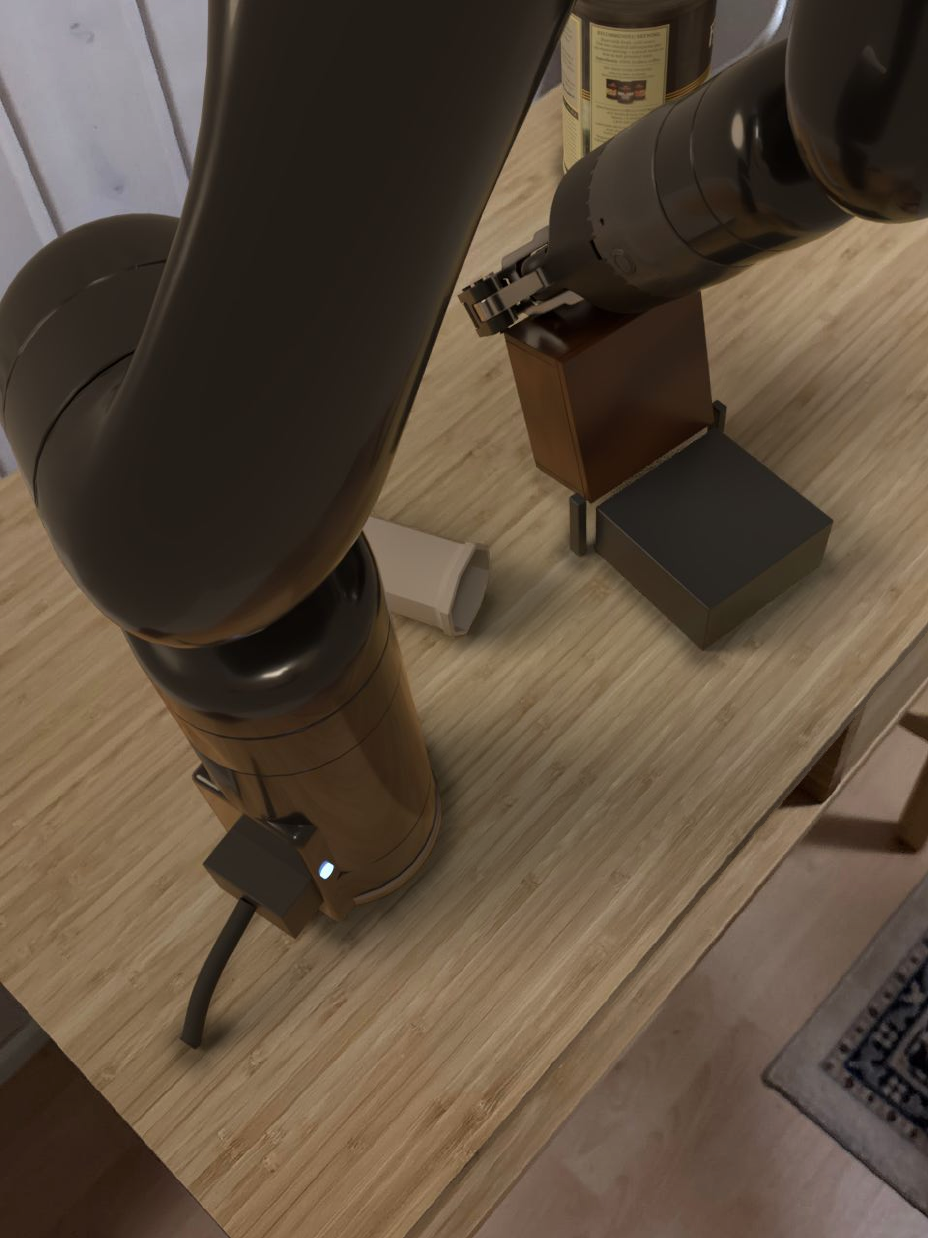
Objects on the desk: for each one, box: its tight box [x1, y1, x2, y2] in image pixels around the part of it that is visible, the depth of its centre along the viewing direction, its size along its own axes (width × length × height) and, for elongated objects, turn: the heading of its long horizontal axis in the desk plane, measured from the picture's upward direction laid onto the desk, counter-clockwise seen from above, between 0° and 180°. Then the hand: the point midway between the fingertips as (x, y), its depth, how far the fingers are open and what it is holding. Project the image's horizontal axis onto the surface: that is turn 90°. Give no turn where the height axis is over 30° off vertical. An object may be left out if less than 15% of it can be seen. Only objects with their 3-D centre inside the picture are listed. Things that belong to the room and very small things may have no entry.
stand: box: [568, 399, 834, 651], centre depth 62 cm, size 10×11×5 cm
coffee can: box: [560, 0, 718, 176], centre depth 78 cm, size 10×10×14 cm
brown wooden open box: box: [503, 279, 714, 505], centre depth 62 cm, size 11×9×7 cm
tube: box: [363, 513, 492, 637], centre depth 65 cm, size 5×5×25 cm
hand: (512, 287), depth 65 cm, fingers open, 4 cm apart
